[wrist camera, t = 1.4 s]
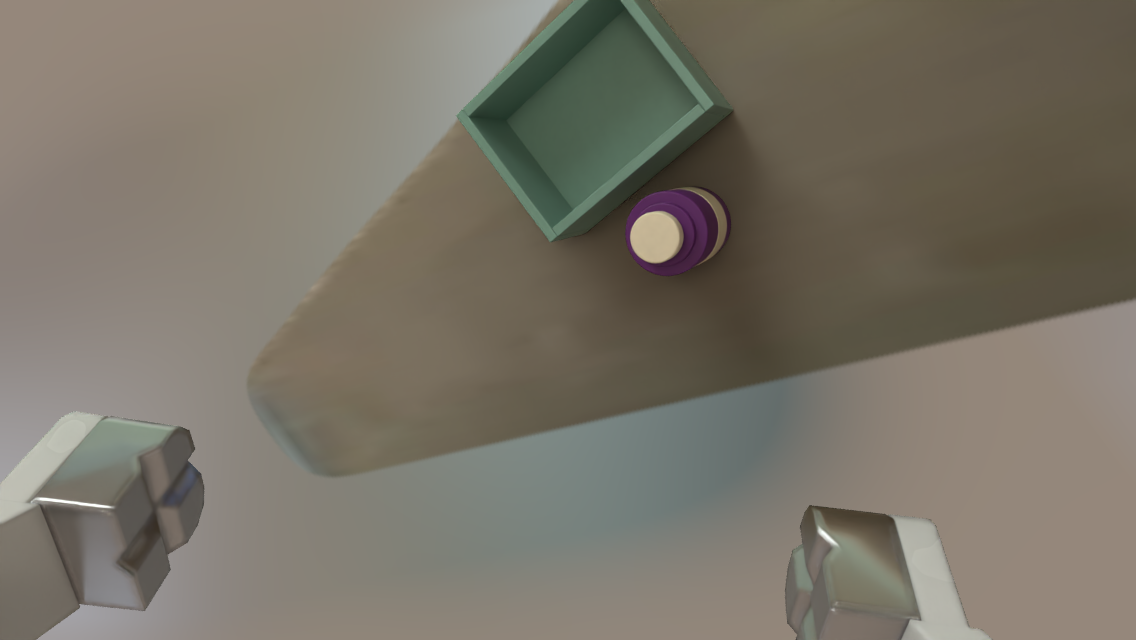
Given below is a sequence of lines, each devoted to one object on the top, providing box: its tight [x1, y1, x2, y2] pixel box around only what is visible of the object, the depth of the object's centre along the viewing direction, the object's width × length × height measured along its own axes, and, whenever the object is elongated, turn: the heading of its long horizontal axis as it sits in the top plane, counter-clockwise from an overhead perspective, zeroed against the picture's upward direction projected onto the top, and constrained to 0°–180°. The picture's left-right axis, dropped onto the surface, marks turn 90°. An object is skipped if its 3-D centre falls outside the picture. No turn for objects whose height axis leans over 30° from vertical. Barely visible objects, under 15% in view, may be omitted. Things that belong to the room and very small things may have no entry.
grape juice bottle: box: [625, 187, 731, 276], centre depth 40 cm, size 4×4×8 cm
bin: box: [457, 0, 733, 242], centre depth 42 cm, size 10×8×5 cm
